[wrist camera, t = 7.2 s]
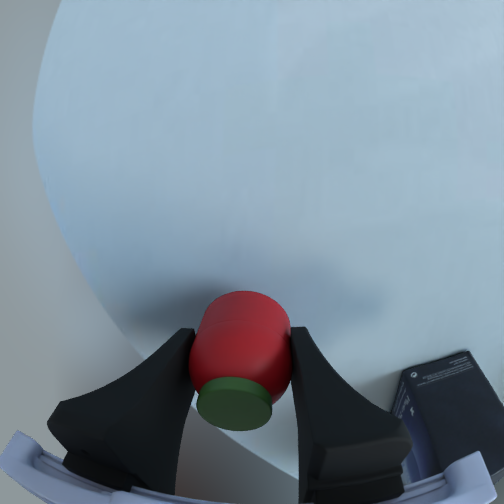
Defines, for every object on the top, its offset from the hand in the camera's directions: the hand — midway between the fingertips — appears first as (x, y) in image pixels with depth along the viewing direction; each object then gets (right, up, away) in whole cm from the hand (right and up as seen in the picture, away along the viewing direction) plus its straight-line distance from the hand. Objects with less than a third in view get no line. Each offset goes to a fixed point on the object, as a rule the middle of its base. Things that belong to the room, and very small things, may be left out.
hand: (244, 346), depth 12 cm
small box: (+14, -8, +6) cm, 17 cm away
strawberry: (0, +1, +1) cm, 1 cm away
